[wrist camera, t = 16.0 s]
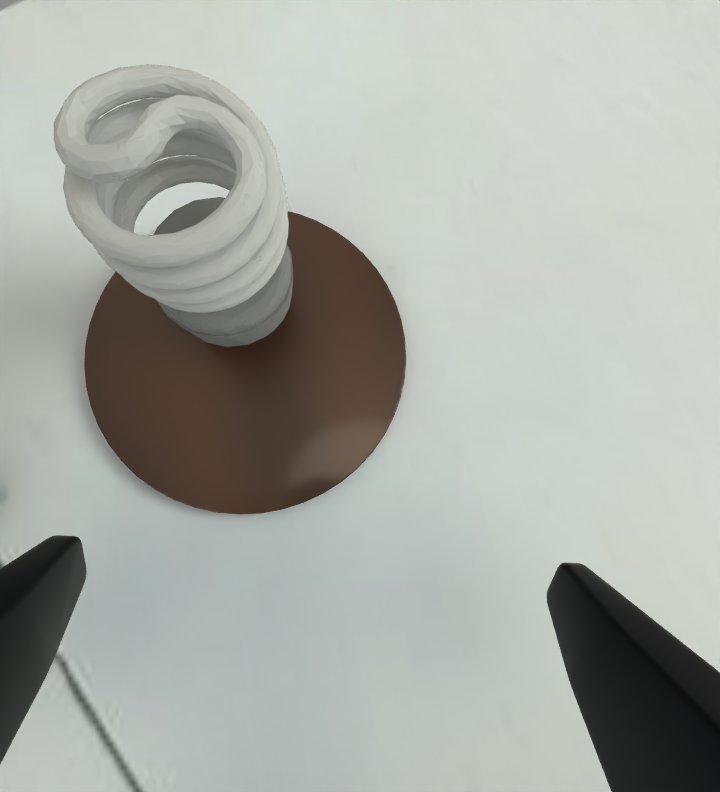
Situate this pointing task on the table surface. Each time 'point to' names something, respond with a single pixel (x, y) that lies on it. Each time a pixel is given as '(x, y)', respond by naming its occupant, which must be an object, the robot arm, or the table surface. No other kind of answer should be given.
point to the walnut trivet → (252, 385)
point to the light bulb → (192, 223)
